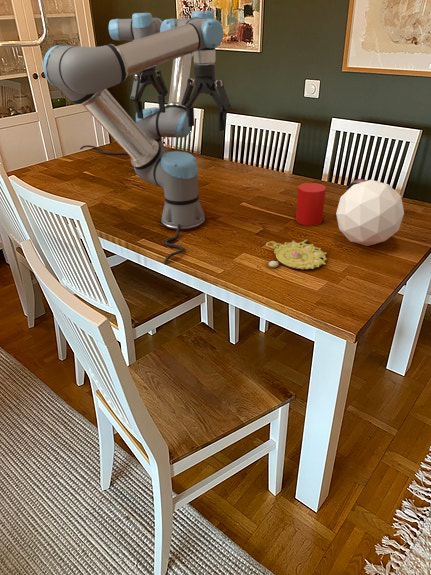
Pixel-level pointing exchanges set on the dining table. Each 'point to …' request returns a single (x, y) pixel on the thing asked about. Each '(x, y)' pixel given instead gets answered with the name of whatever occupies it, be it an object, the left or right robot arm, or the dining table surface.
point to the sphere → (369, 212)
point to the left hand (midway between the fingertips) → (151, 115)
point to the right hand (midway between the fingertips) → (206, 128)
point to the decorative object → (297, 255)
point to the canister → (310, 203)
